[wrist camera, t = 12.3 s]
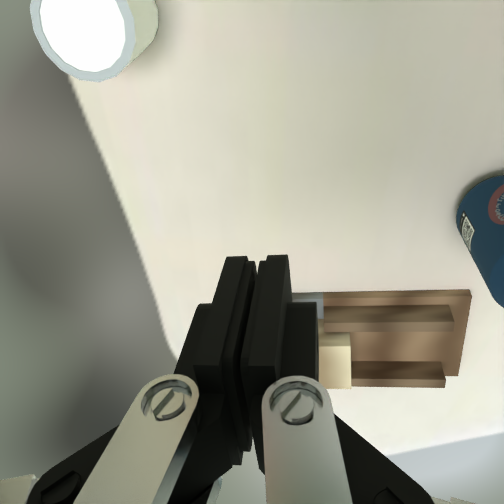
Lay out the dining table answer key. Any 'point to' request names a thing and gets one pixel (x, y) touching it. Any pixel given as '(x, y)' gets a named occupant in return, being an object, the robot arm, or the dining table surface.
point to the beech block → (334, 358)
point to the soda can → (485, 231)
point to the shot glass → (94, 34)
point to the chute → (398, 333)
